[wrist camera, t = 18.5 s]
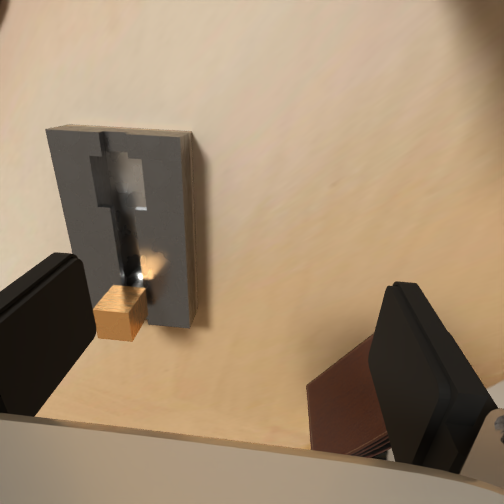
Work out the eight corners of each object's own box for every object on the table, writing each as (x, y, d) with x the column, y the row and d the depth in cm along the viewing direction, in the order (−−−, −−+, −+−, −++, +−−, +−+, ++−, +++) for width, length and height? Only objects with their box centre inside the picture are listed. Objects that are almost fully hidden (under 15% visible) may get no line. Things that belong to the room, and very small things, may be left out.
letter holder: (305, 384, 53) (310, 477, 41) (404, 306, 45) (448, 392, 33) (351, 414, 55) (369, 512, 43) (454, 345, 47) (513, 440, 35)
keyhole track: (191, 131, 38) (179, 137, 34) (197, 308, 48) (189, 328, 44) (70, 124, 38) (45, 129, 34) (103, 299, 49) (87, 318, 45)
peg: (157, 269, 45) (128, 313, 36) (159, 294, 47) (132, 341, 38) (128, 266, 45) (92, 309, 37) (131, 292, 47) (98, 338, 38)
